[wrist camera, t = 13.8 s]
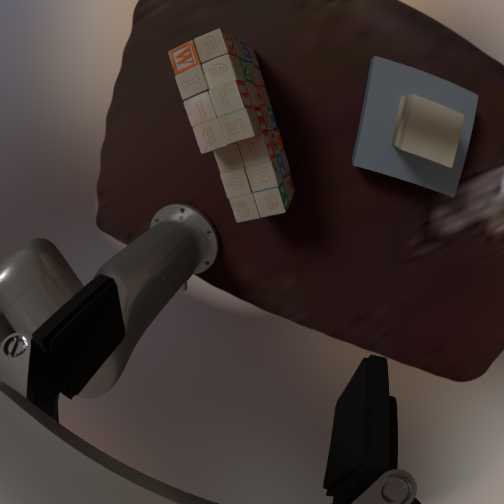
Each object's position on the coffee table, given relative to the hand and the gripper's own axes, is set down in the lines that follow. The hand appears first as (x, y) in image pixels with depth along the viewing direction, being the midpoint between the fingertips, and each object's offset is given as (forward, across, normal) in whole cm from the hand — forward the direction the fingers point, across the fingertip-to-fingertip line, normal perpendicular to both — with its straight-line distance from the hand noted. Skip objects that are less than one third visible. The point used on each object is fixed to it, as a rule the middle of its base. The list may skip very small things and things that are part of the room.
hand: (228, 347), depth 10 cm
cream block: (+29, -12, -9) cm, 33 cm away
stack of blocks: (+34, +9, -4) cm, 35 cm away
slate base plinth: (+33, -12, -9) cm, 37 cm away
